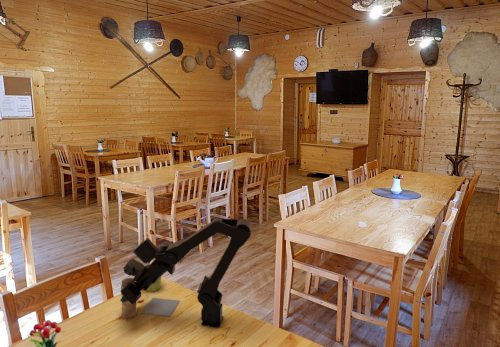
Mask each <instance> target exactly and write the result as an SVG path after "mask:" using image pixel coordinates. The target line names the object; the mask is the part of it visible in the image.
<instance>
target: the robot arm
mask: <svg viewBox="0 0 500 347" xmlns="http://www.w3.org/2000/svg"><path fill="white" fill-rule="evenodd" d="M252 227H253V226H252V223H251V221H250V220H248V219H247V218H240V219H236V218H222V217H215V218H214V219H213V220H212V221H211V222H209V223H207V224H206V225H204V226H203V227H201V228H200V229H198V230H197V231H195V232H194V233H192V234H191V235H189V236H188V237H186V238H184V239H180V240H177V241H175V242H173V243H170V244H168V245H161V246H159V248H158V247H157V246H156V245H155V244H154V243H153V242H152V240H151V239H150V238H149V237H147V238H146V239H144V241H141V242H140V243H139V244H138V245H137V246H136V247H135V248H134V249H133V251H132V253H133V254H134V255H135V256H136V257H137V258H138V259H139V260H140V261H141V262H140V261H138V260H136V259H134V258H131V259H130V260H128V261H127V262H126V264H125V266H123V269H122V270H123V272H124V274H126V275H128V276H133V277H132V278H133V279H134V280H135V283H134V284H135V285H136V287H135V285H134V284H133V283H128V284H127V285H126V286H125V287H124V288H123V289H122V290H121V289H120V295H121V294H122V295H123V297H122V298H120V302H121V303H122V302H126V301H129V302H130V303H131V304H134V303H136V304H137V302H138V301H139V300H140V299H141V297H142V291H143V290H144V291H146V290H147V289H148V288H149V287H150V286H151V285H152V284H154V283H155V282H156V281H157V280H158V279H159V278H160V277H161V278H162V276H163V275H164V274H166V273H167V272H168V273H169V275H173V274H174V272H175V271H176V265H177V264H178V263H180V261H182V260H183V259H184V258H185V256H187V254H188V253H189V252H190V251H191V250H193V249H195V248H196V247H198V246H199V245H201V244H202V243H203V242H205V241H207V240H208V239H211V237H213V236H214V235H216V234H222V235H224V236H227V237H229V238H230V240H229V242H228V244H227V246H226V247H225V250H224V251H223V253H222V254H221V256H220V258H219V259H218V262H217V264H216V265H215V267H214V269H213V271H212V273H211V274H210V275H209V276H207V275H204V277H203V280H202V282H200V283H199V285H198V288H197V292H196V293H197V301H198V303H199V304H201V311H200V313H201V314H200V315H201V316H200V319H201V324H200V325H201V326H204V327H213V328H220V327H221V325H222V322H223V321H224V320H223V319H224V316H223V303H222V301H223V300H222V299H223V296H224V295H223V293H222V292H221V291H219V286H220V284H221V281H222V279H223V277H224V276H225V275H226V273H227V271H228V269H229V267H230V265H231V263H232V262H233V260H234V258H235V256H236V254H237V252H238V251H239V250H240V249H241V248H242V247H244V245H245V244H246V242H248V240H249V239H250V237H251V236H252V235H251V234H252ZM143 263H144V264H143ZM147 263H148V264H149V265H147ZM144 265H146V266H144ZM146 292H147V291H146Z"/></svg>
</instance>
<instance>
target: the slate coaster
mask: <svg viewBox="0 0 500 347" xmlns="http://www.w3.org/2000/svg"><path fill="white" fill-rule="evenodd" d="M180 302H181V300H177V299H167V298H160V297H152V299H150V301H149V302H148V303H147V304H146V305H145V307H143V309H142V311H140V315H141V314H142V315H148V316H149V315H151V316H156V317H158V316H159V317H164V318H165V317H166V318H171V316H172V315H173V313H174V311H175V310H176V308H177V307H178V306H179V304H180Z"/></svg>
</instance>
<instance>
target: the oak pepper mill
mask: <svg viewBox="0 0 500 347" xmlns="http://www.w3.org/2000/svg"><path fill="white" fill-rule="evenodd" d="M133 278H134V277H128V278H127V277H126V278H123V279H122V280H121V284H120V291H121V290H122V289H123V288H124V287H125V286H126V285H127V284H128V283H133V284H134V283H135V282H136V281H135V280H134V279H133ZM134 285H135V284H134ZM135 287H136V285H135ZM120 296H121V298H122V297H123V295H122V294H121V293H120ZM121 298H120V299H121ZM137 313H138V312H137V302H136V303H134V304H131V303H130V302H129V301H126V302H122V301H121V317H122V318H123V319H132V318H135V317H136V316H137Z"/></svg>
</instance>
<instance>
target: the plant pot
mask: <svg viewBox="0 0 500 347" xmlns="http://www.w3.org/2000/svg"><path fill="white" fill-rule="evenodd" d="M149 264H150V263H148V264H147V263H146V264H143V265H144V266H146V265H149ZM161 282H162V276H161V277H160V278H159V279H158V280H157V281H156V282H155V283H154V284H152V285H151V286H150V287H149V288H148V289H147V290H146V292H154V291H159V290H160V289H161Z"/></svg>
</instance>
